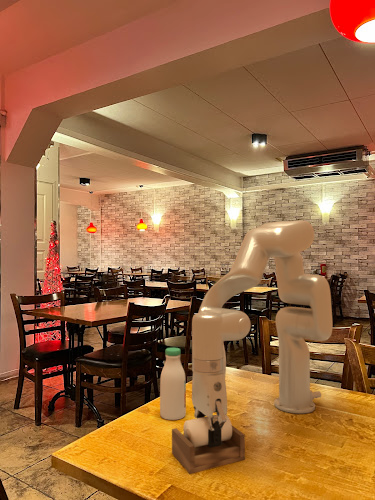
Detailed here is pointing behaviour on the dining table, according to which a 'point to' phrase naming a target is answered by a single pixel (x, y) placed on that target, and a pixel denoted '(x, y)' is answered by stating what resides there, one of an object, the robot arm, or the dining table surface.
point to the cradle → (207, 451)
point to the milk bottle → (172, 387)
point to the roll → (204, 430)
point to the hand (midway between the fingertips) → (208, 439)
